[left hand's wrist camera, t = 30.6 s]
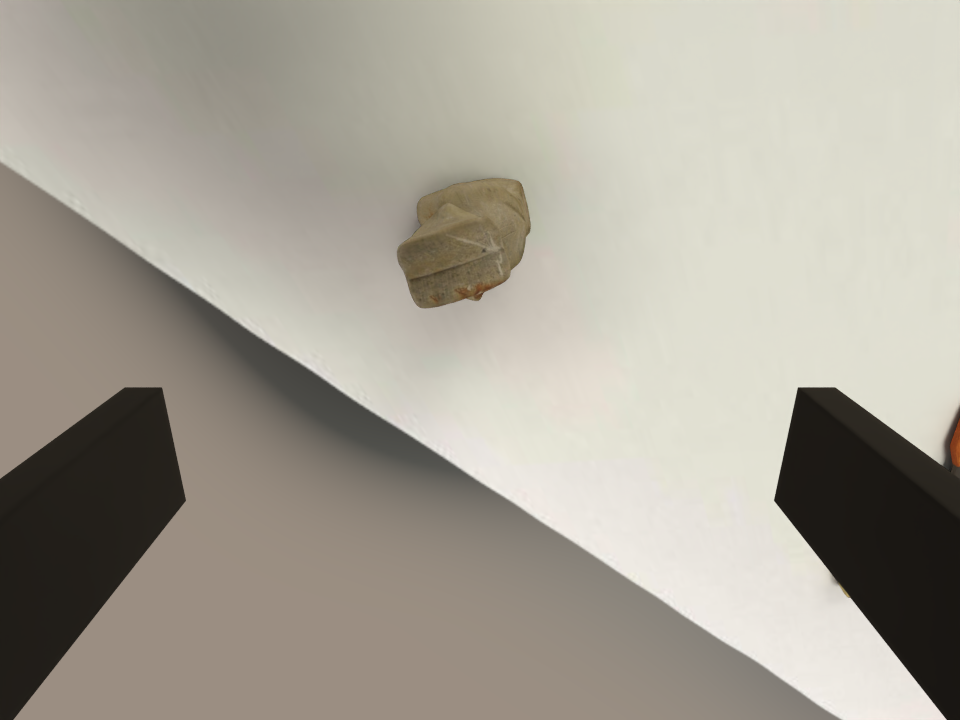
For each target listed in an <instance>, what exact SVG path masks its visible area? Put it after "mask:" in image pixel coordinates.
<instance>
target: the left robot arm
mask: <svg viewBox="0 0 960 720" xmlns="http://www.w3.org/2000/svg"><path fill="white" fill-rule="evenodd" d="M185 501H186V499H185V494H184V489H183V485H182V480H181V475H180V470H179V466H178V461H177V456H176V452H175V447H174V442H173V437H172V433H171V428H170V423H169V418H168V414H167V409H166V404H165V399H164V395H163V390H162V388H124V389H122V390H121V391H119V392H118V393H117V394H115V395H114V396H113V397H111V398H110V399H109V400H107V401H106V402H104V403H103V404H102V405H100V406H99V407H98V408H96V409H95V410H94V411H92V412H91V413H89V414H88V415H87V416H85V417H84V418H83V419H81V420H80V421H79V422H77V423H76V424H75V425H73V426H72V427H70V428H69V429H68V430H66V431H65V432H63V433H62V434H61V435H59V436H58V437H57V438H55V439H54V440H53V441H51V442H50V443H48V444H47V445H46V446H44V447H43V448H42V449H40V450H39V451H38V452H36V453H35V454H33V455H32V456H31V457H29V458H28V459H27V460H25V461H24V462H23V463H21V464H20V465H18V466H17V467H16V468H14V469H13V470H12V471H10V472H9V473H8V474H6V475H5V476H3V477H2V478H1V479H0V720H13V719H14V718H15V717H16V716H17V714H18V713H19V712H20V710H21V709H22V708H23V707H24V705H25V704H26V703H27V702H28V700H29V699H30V698H31V696H32V695H33V694H34V693H35V691H36V690H37V689H38V688H39V686H40V685H41V684H42V683H43V681H44V680H45V679H46V678H47V676H48V675H49V674H50V672H51V671H52V670H53V669H54V667H55V666H56V665H57V663H58V662H59V661H60V660H61V658H62V657H63V656H64V655H65V653H66V652H67V651H68V650H69V648H70V647H71V646H72V644H73V643H74V642H75V641H76V639H77V638H78V637H79V636H80V634H81V633H82V632H83V631H84V629H85V628H86V627H87V625H88V624H89V623H90V622H91V620H92V619H93V618H94V617H95V615H96V614H97V613H98V612H99V610H100V609H101V608H102V606H103V605H104V604H105V603H106V601H107V600H108V599H109V598H110V596H111V595H112V594H113V592H114V591H115V590H116V589H117V587H118V586H119V585H120V584H121V582H122V581H123V580H124V578H125V577H126V576H127V575H128V573H129V572H130V571H131V570H132V568H133V567H134V566H135V564H136V563H137V562H138V561H139V559H140V558H141V557H142V556H143V554H144V553H145V552H146V551H147V549H148V548H149V547H150V545H151V544H152V543H153V542H154V540H155V539H156V538H157V537H158V535H159V534H160V533H161V531H162V530H163V529H164V528H165V526H166V525H167V524H168V523H169V521H170V520H171V519H172V517H173V516H174V515H175V514H176V512H177V511H178V510H179V509H180V507H181V506H182V505H183V504H184V502H185ZM774 501H775V502H776V504H777V505H778V506H779V507H780V509H781V510H782V511H783V512H784V514H785V515H786V516H787V518H788V519H789V520H790V521H791V523H792V524H793V525H794V526H795V528H796V529H797V530H798V532H799V533H800V534H801V535H802V537H803V538H804V539H805V540H806V542H807V543H808V544H809V546H810V547H811V548H812V549H813V551H814V552H815V553H816V554H817V556H818V557H819V558H820V559H821V561H822V562H823V563H824V565H825V566H826V567H827V568H828V570H829V571H830V572H831V573H832V575H833V576H834V577H835V579H836V580H837V581H838V582H839V584H840V585H841V586H842V587H843V589H844V590H845V591H846V592H847V594H848V595H849V596H850V598H851V599H852V600H853V601H854V603H855V604H856V605H857V606H858V608H859V609H860V610H861V612H862V613H863V614H864V615H865V617H866V618H867V619H868V620H869V622H870V623H871V624H872V625H873V627H874V628H875V629H876V631H877V632H878V633H879V634H880V636H881V637H882V638H883V639H884V641H885V642H886V643H887V645H888V646H889V647H890V648H891V650H892V651H893V652H894V653H895V655H896V656H897V657H898V658H899V660H900V661H901V662H902V664H903V665H904V666H905V667H906V669H907V670H908V671H909V672H910V674H911V675H912V676H913V678H914V679H915V680H916V681H917V683H918V684H919V685H920V686H921V688H922V689H923V690H924V691H925V693H926V694H927V695H928V697H929V698H930V699H931V700H932V702H933V703H934V704H935V705H936V707H937V708H938V709H939V711H940V712H941V713H942V714H943V716H944V717H945V718H946V719H947V720H960V479H959V478H958V477H957V476H955V475H954V474H952V473H951V472H950V471H948V470H947V469H946V468H944V467H943V466H942V465H940V464H939V463H937V462H936V461H935V460H933V459H932V458H931V457H929V456H928V455H927V454H925V453H924V452H922V451H921V450H920V449H918V448H917V447H916V446H914V445H913V444H912V443H910V442H909V441H907V440H906V439H905V438H903V437H902V436H901V435H899V434H898V433H897V432H895V431H894V430H892V429H891V428H890V427H888V426H887V425H886V424H884V423H883V422H881V421H880V420H879V419H877V418H876V417H875V416H873V415H872V414H871V413H869V412H868V411H866V410H865V409H864V408H862V407H861V406H860V405H858V404H857V403H856V402H854V401H853V400H851V399H850V398H849V397H847V396H846V395H845V394H843V393H842V392H841V391H839V390H838V389H836V388H798V390H797V395H796V399H795V404H794V409H793V414H792V418H791V423H790V428H789V433H788V437H787V442H786V447H785V451H784V456H783V461H782V466H781V470H780V475H779V480H778V485H777V489H776V494H775V499H774Z"/></svg>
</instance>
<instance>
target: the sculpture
mask: <svg viewBox="0 0 960 720" xmlns="http://www.w3.org/2000/svg"><path fill="white" fill-rule="evenodd" d="M417 215H418V220H419V222H420V224H421V225H422V226H421V227H420V228H419V229H418V230H417V231H416V232H415V233H414V234H413V235H412V237H411V238H409V239H408V240H406V241H405V242H403V243H402V244H401V245H400V246H399V247H398V250H397V257H398V262H399V265H400V266H401V268H402V269H403V271H404V273H405V276H406V279H407V283H408V286H409V290H410V293H411V296H412V298H413V300H414V302H415V303H416V305H417V306H418V307H420V308H433V307H438V306H442V305H446V304H449V303H454V302H457V301H460V300H462V299H465V298H467V299H470V300H474V301H479V300H480V299H481V297H482V295H483V293H484V292H485V291H488V290H490V289H492V288H494V287H496V286H498V285H500V284H502V283H503V282H505V281H506V280H507V279H508V278H509V277H510V271H511V270H512V269H513V268H514V267H515V266H516V265H517V264H518V263H519V262H520V261H521V259H522V256H523V252H524V247H525V240H526V236H527V235H528V234H529V233H530V229H531V228H530V227H531V224H530V217H529V211H528V206H527V202H526V198H525V194H524V191H523V187H522V185H521V183H520V182H519V181H516V180H511V179H501V178H492V179H483V180H477V181H472V182H467V183H458V184H453V185H451V186H450V187H448V188H446V189H443V190H440V191H437V192H435V193H432V194H429V195H427V196H424V197H422V198H421V199H420V200H419V202H418V205H417Z"/></svg>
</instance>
